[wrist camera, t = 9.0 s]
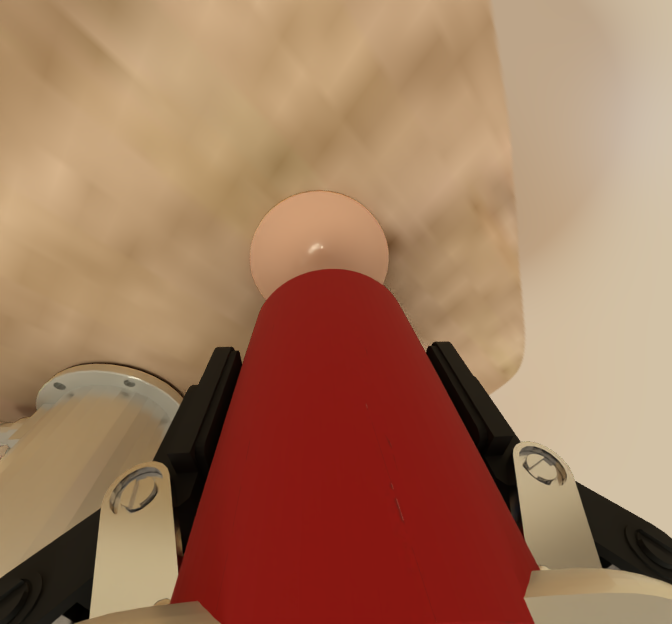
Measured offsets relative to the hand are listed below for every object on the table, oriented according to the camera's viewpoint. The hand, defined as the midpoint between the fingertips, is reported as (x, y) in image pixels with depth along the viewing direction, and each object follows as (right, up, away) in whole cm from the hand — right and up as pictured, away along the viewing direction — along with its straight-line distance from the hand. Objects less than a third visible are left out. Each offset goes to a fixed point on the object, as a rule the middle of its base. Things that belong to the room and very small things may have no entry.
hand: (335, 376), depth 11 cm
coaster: (-1, +6, +10) cm, 12 cm away
